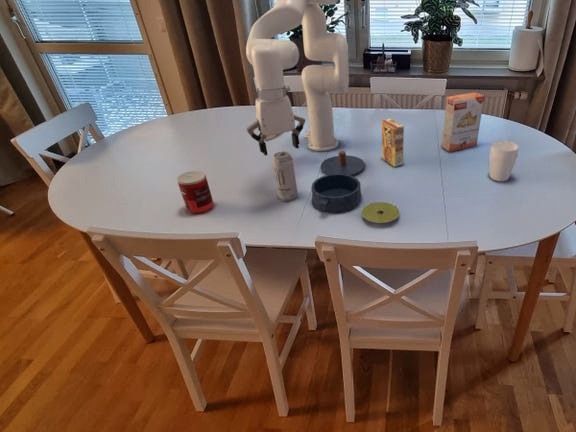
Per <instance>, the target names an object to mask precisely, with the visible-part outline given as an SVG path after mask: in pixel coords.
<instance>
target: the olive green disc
mask: <svg viewBox="0 0 576 432" xmlns="http://www.w3.org/2000/svg"><path fill="white" fill-rule="evenodd" d="M361 215H362V217H363V218H364V219H365V220H367V221H369V222H372V223H376V224H384V223H389V222H392V221H394V220H396V219H397V218H398V217H399V215H400V209H399V208H398V207H397V206H396V205H394V204H393V203H389V202H383V201H378V202H371V203H369V204H367V205H365V206H364V207H363V208H362V210H361Z"/></svg>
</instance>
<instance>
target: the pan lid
mask: <svg viewBox="0 0 576 432" xmlns="http://www.w3.org/2000/svg"><path fill="white" fill-rule="evenodd" d="M365 168H366V163H365V161H364V160H363V159H361V158H360V157H358V156H354V155H347V153H346V151H345V150H340V151H338V155H335V156H331V157H328V158H326V159H325V160H323V161H322V162H321V164H320V171H321V172H322V173H324V174H325V175H329V174H344V173H345V172H348V173H352V176H355V175H358V174H360V173H361V172H363V171H364V170H365Z"/></svg>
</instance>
